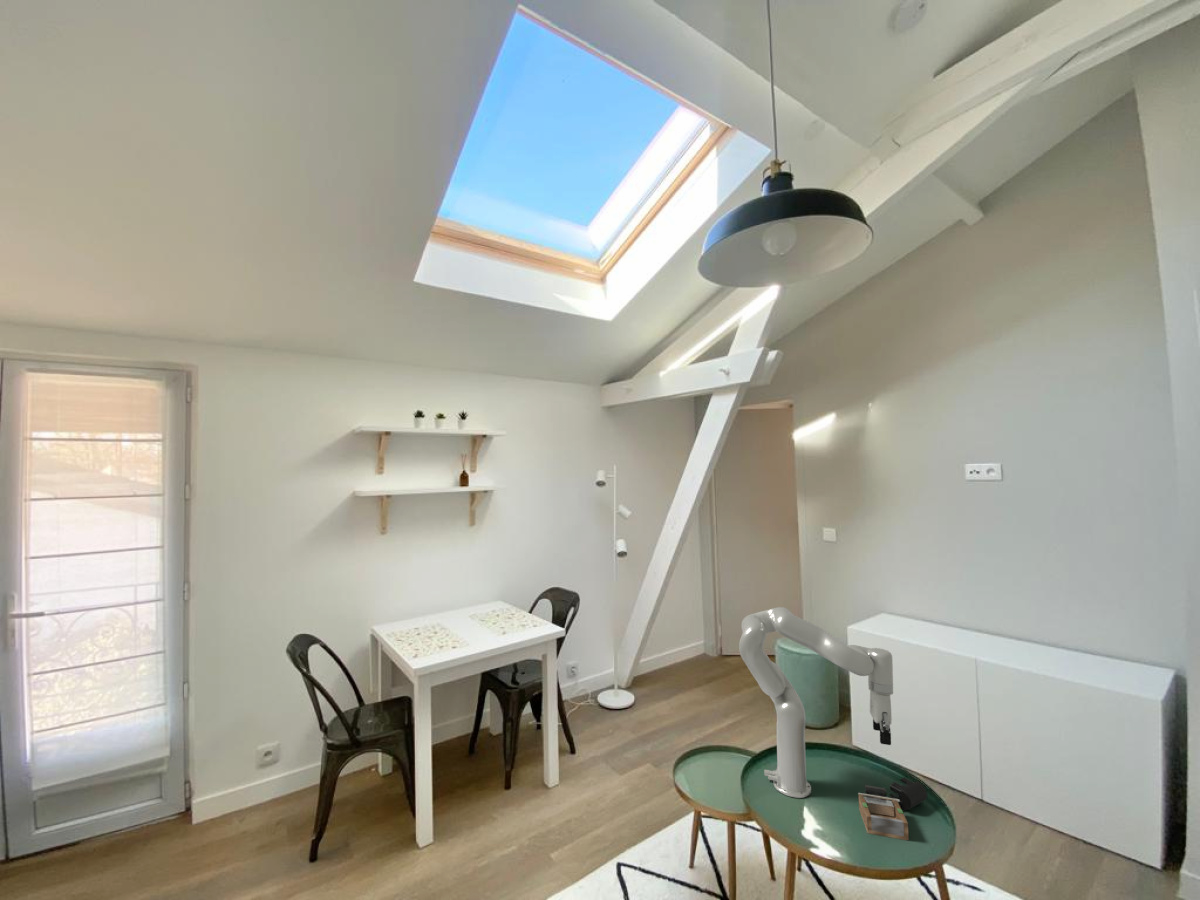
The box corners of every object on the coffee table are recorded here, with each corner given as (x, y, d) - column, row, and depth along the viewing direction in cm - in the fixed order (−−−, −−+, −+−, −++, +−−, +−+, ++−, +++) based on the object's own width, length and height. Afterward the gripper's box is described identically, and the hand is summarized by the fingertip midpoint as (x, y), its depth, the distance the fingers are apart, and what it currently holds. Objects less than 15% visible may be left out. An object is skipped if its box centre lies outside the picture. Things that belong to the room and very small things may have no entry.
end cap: (911, 816, 160) (910, 794, 160) (889, 804, 166) (888, 783, 167) (928, 806, 165) (927, 785, 165) (906, 794, 171) (905, 774, 172)
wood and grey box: (867, 833, 152) (866, 815, 152) (859, 808, 164) (858, 792, 164) (908, 840, 149) (907, 822, 149) (896, 815, 160) (896, 798, 161)
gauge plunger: (859, 810, 160) (859, 794, 161) (855, 799, 166) (855, 783, 167) (901, 817, 157) (900, 801, 157) (895, 805, 163) (895, 789, 163)
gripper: (863, 675, 181) (864, 723, 180) (874, 694, 164) (875, 747, 163) (886, 678, 179) (887, 727, 177) (900, 698, 162) (901, 751, 161)
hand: (881, 737), depth 170 cm, fingers open, 9 cm apart
